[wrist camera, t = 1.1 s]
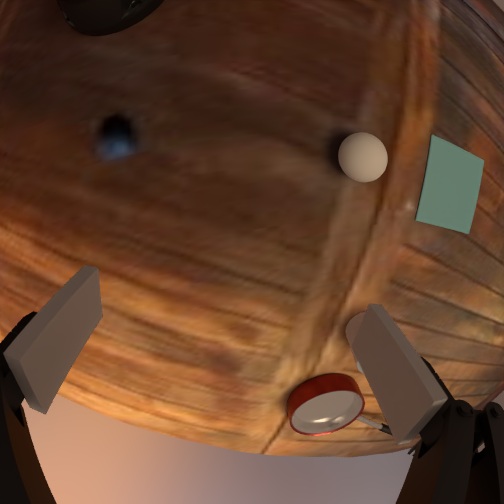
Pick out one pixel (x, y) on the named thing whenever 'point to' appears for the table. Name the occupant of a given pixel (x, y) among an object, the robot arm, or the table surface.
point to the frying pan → (327, 405)
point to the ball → (362, 157)
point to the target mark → (449, 186)
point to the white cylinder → (354, 333)
